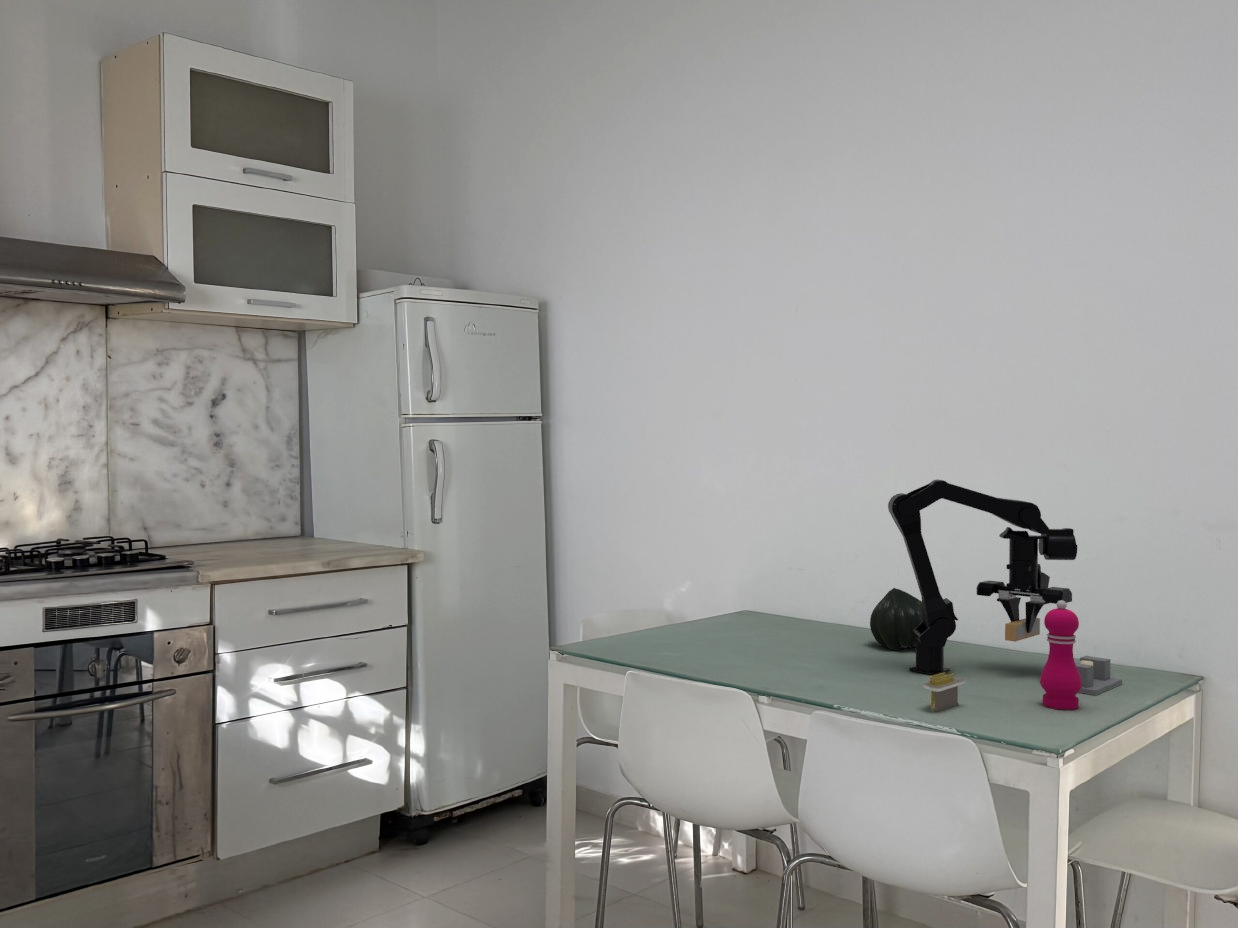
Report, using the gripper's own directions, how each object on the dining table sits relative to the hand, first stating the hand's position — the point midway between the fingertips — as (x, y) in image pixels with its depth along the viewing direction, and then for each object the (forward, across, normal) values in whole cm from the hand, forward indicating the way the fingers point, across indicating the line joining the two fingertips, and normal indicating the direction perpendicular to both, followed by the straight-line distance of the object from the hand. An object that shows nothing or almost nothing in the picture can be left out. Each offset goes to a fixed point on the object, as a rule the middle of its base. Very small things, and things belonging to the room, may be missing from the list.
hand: (1022, 631), depth 220 cm
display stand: (+9, -14, +1) cm, 17 cm away
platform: (+10, -2, +38) cm, 40 cm away
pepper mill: (+9, -17, +21) cm, 29 cm away
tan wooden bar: (+1, 0, 0) cm, 1 cm away
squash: (+9, +33, -7) cm, 35 cm away
